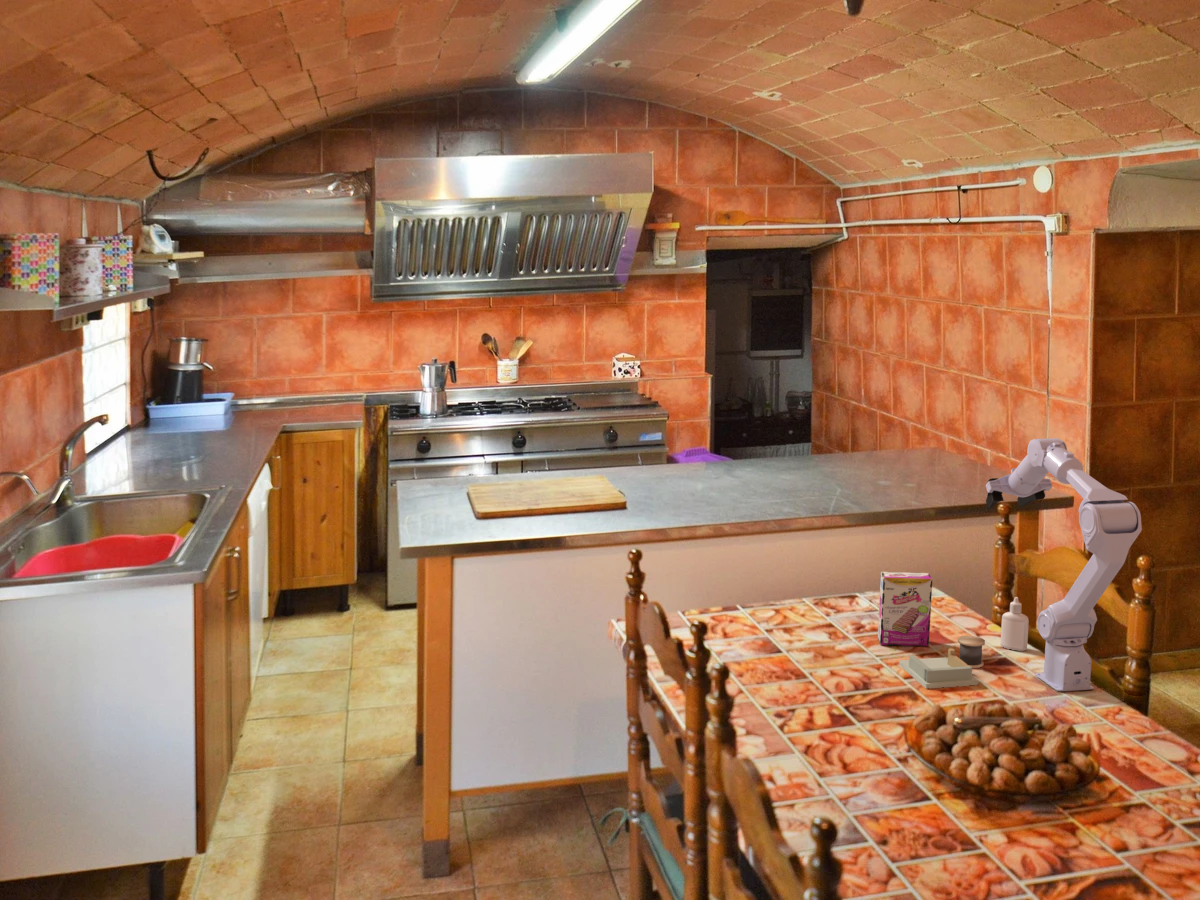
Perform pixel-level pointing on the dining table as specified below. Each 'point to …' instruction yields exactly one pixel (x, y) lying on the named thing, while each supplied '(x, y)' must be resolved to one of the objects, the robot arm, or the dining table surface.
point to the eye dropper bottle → (1014, 628)
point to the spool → (971, 650)
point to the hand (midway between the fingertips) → (1004, 503)
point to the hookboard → (939, 671)
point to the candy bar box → (904, 609)
